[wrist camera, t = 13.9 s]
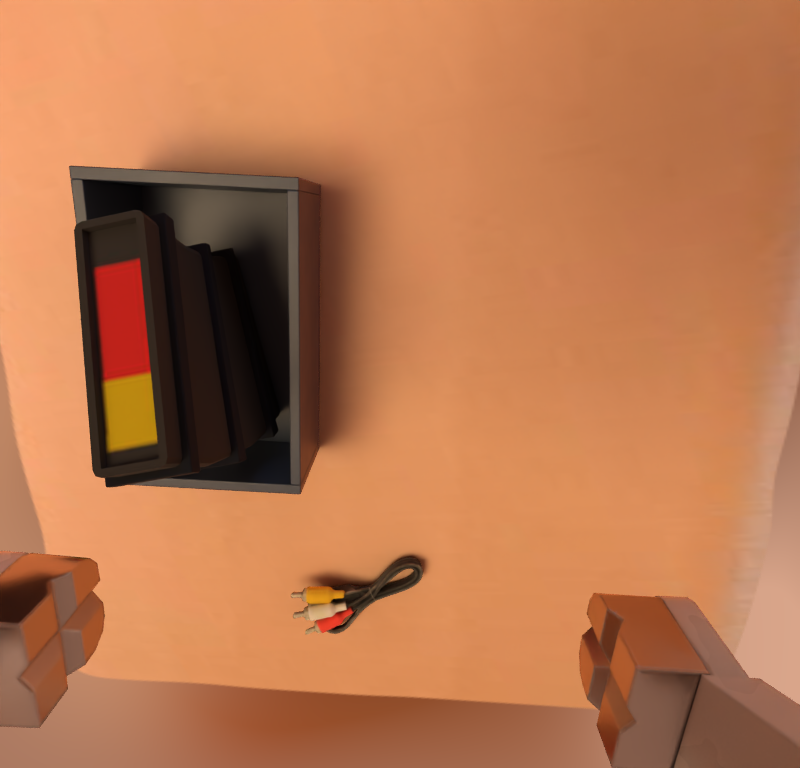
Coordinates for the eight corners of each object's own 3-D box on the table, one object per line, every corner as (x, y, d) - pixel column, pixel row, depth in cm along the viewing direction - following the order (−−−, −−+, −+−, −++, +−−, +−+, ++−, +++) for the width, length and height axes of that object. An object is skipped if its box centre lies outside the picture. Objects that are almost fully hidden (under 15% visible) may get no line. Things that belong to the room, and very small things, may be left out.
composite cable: (417, 549, 40) (417, 570, 37) (434, 602, 41) (436, 625, 39) (291, 579, 41) (284, 602, 38) (312, 630, 42) (306, 654, 40)
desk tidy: (134, 175, 32) (68, 165, 26) (320, 184, 32) (298, 177, 26) (158, 439, 38) (108, 484, 31) (319, 448, 37) (300, 494, 31)
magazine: (239, 476, 36) (85, 489, 21) (216, 288, 38) (62, 178, 23) (293, 467, 35) (177, 473, 21) (268, 278, 38) (145, 160, 23)
